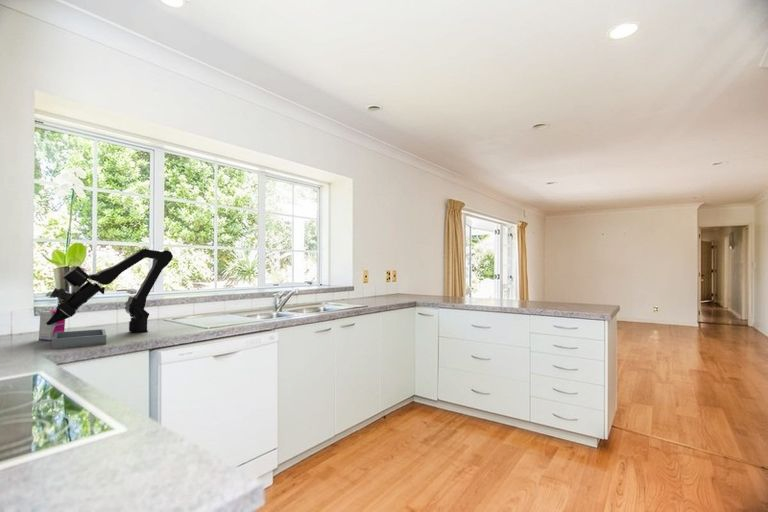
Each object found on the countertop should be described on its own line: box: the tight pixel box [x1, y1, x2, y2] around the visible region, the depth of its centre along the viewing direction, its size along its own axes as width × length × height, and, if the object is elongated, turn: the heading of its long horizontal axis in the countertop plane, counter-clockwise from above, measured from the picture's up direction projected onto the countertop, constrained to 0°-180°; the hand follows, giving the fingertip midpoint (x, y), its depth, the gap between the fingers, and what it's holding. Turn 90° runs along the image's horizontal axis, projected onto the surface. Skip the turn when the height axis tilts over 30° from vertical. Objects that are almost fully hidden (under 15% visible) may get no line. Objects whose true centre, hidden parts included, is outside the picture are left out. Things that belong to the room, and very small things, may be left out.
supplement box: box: [38, 309, 66, 342], centre depth 159 cm, size 6×6×12 cm
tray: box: [51, 328, 108, 350], centre depth 154 cm, size 16×16×4 cm
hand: (47, 323), depth 158 cm, fingers open, 8 cm apart
